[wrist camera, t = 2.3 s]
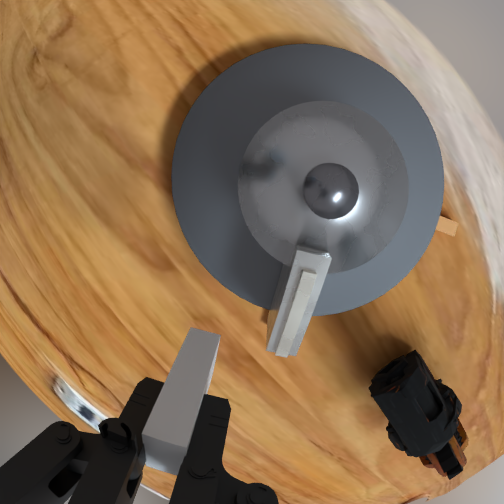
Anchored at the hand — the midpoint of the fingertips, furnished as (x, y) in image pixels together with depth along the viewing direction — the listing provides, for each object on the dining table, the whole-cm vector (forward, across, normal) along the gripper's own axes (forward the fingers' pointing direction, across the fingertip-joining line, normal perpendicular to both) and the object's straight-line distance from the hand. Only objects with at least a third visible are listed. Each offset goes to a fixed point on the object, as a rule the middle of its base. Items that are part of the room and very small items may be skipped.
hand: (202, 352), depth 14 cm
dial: (+8, +4, +6) cm, 11 cm away
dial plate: (+10, +5, +7) cm, 13 cm away
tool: (+11, +24, -10) cm, 28 cm away
